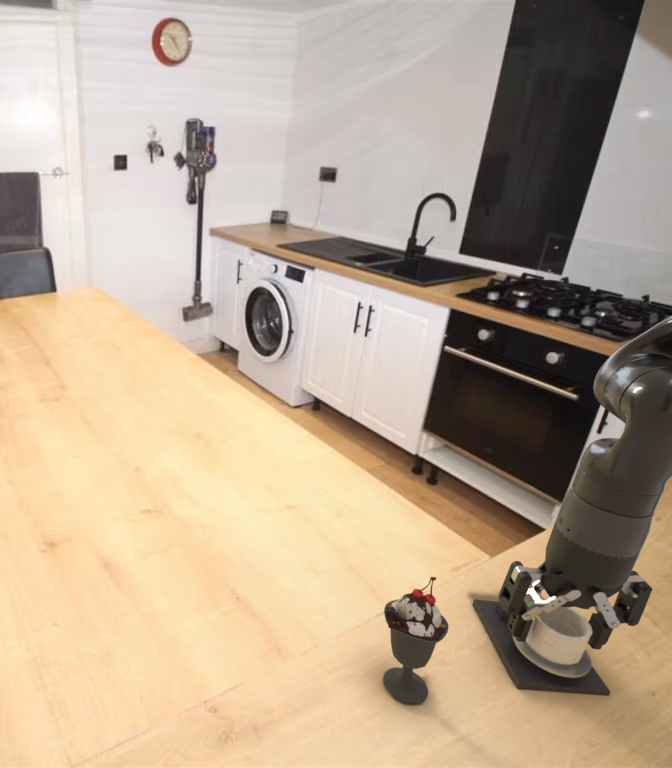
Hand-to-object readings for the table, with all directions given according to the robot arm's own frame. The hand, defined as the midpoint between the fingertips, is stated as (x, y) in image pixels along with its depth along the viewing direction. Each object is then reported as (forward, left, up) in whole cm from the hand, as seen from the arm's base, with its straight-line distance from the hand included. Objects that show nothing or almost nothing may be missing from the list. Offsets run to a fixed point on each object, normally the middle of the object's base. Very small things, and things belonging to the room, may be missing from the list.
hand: (553, 639), depth 65 cm
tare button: (0, -6, -2) cm, 7 cm away
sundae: (+18, +5, -4) cm, 19 cm away
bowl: (0, 0, -1) cm, 1 cm away
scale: (0, -2, -4) cm, 5 cm away
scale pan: (0, 0, -1) cm, 1 cm away
